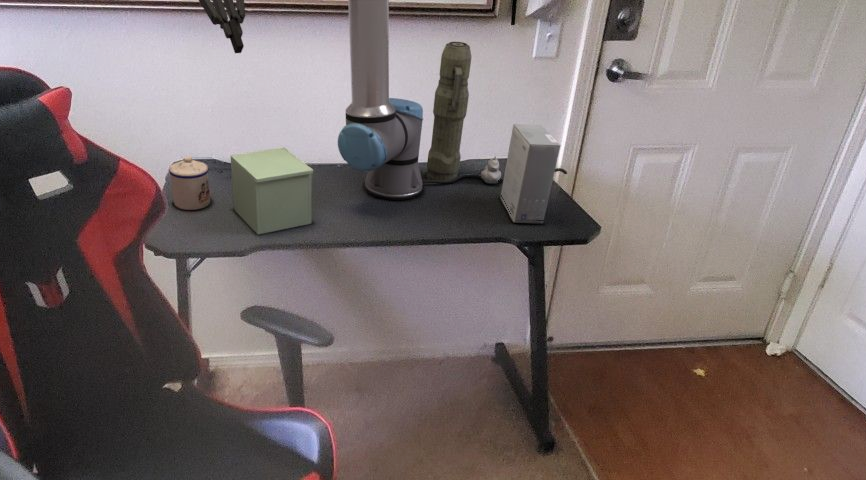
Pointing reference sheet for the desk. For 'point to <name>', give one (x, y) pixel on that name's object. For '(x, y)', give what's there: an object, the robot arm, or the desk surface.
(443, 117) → the thermos
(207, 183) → the teacup with lid
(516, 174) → the hard drive box
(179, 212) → the desk surface
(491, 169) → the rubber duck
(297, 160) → the bin lid
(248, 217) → the bin
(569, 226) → the desk surface
